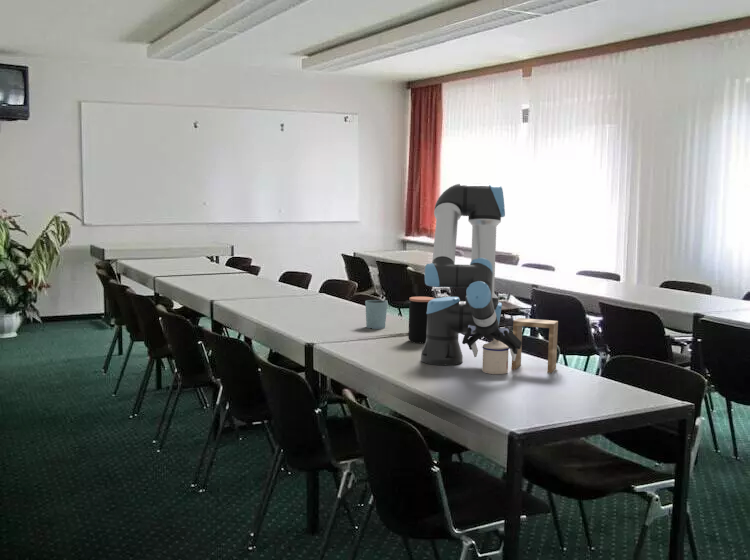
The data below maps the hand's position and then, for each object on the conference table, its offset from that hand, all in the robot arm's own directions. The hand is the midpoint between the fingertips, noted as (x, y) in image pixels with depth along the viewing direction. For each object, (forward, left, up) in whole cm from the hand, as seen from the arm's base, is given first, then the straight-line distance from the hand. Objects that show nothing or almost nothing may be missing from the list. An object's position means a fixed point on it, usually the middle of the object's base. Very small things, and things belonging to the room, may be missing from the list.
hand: (495, 355), depth 275 cm
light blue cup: (-71, +62, -5) cm, 95 cm away
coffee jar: (-41, +39, -5) cm, 57 cm away
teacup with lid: (0, -2, -5) cm, 5 cm away
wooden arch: (+12, +8, -5) cm, 15 cm away
